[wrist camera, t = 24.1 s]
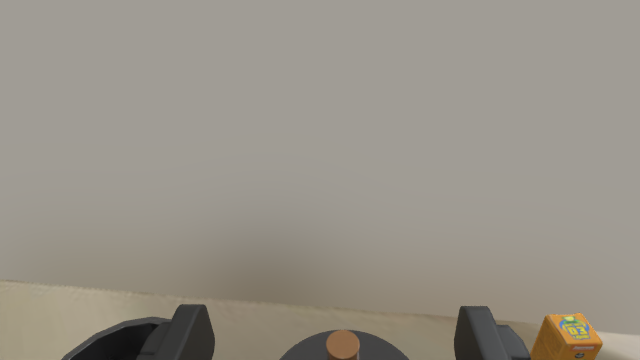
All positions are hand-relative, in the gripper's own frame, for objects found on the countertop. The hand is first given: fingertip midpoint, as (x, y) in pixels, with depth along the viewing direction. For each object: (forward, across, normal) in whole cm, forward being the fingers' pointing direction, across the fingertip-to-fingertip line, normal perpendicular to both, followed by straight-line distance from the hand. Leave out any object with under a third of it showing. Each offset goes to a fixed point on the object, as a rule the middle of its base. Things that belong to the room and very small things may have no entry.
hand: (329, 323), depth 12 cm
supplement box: (+15, -20, +28) cm, 38 cm away
